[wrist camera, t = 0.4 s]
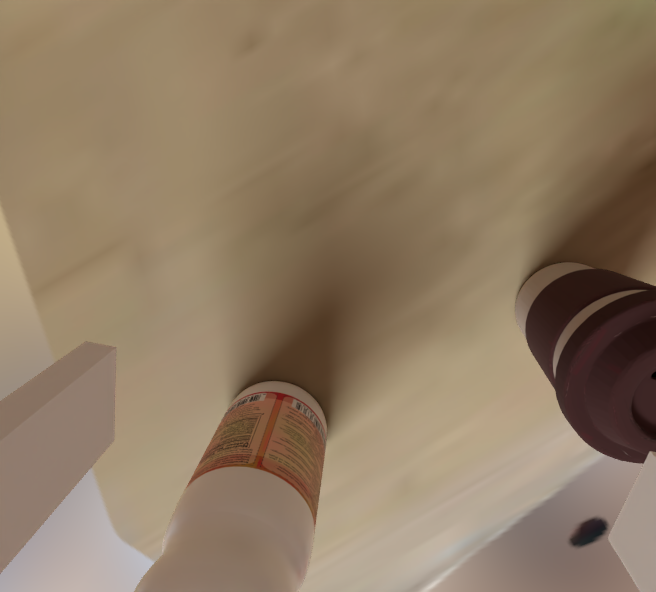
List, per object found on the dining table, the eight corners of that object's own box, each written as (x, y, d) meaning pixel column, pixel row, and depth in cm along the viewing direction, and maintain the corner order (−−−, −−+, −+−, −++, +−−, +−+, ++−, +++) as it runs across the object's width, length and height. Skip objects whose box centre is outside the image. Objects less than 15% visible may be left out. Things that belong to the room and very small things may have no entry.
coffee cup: (596, 371, 38) (734, 503, 24) (480, 346, 38) (549, 462, 24) (645, 258, 35) (838, 333, 21) (519, 231, 35) (625, 286, 21)
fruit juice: (341, 395, 41) (298, 858, 14) (311, 477, 44) (229, 987, 17) (241, 364, 40) (4, 772, 14) (218, 448, 43) (-14, 918, 17)
